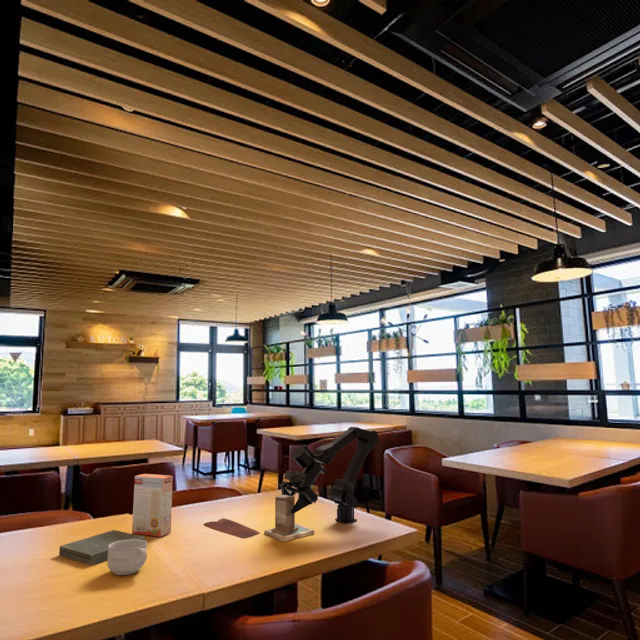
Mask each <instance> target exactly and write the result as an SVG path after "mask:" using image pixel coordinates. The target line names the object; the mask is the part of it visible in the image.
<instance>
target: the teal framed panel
mask: <svg viewBox="0 0 640 640" xmlns="http://www.w3.org/2000/svg"><path fill="white" fill-rule="evenodd" d="M295 527H298V530H297V531H295V532H293V533H290V534H288V535H284V534H279V533H274V532H272V529H273V528H274V527H273V528H269V529H264V530H263V531H264V532H263V533H264V534H265V535H266V536H269V537H271V538H273V539H275V540H277V541H280V542H282V543H283V542H289V541H290V540H294V539H298V538H302V537H307V536H310V535H311V536H312V535H314V534H315V530H314V529H311V528H309V527H307V526H304V525H302V524H298V523H296V522H295Z"/></svg>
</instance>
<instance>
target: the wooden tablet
mask: <svg viewBox="0 0 640 640" xmlns="http://www.w3.org/2000/svg"><path fill="white" fill-rule="evenodd" d="M203 525H204V526H206V527H208V528H210V529H213V530H216V531H219V532H221V533H225V534H227V535H230V536H234V537H237V538H240V539H241V538H242V539H248V538H252V537H255V536H257V535H260V534H261V532H259V531H257V530H256V529H254V528H250V527H249V526H246V525H244V524H242V523H239V522H236V521H234V520H231V519H228V518H220V519H218V520H216V521H207V522H205V523H204V524H203Z"/></svg>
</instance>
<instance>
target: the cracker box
mask: <svg viewBox="0 0 640 640" xmlns="http://www.w3.org/2000/svg"><path fill="white" fill-rule="evenodd" d="M173 480H174V479H173V475H168V474H166V475H165V474H153V473H152V474H151V473H142V474H138V475H134V482H133V483H134V486H133V488H134V489H133V502H132V503H133V507H132V527H131V528H132V529H131V532H132V533H131V534H135V535H142V536H143V535H144V536H151V537H157V538H162V537H163V536H166V535H169V534H171V532H172V510H173V509H172V506H173V505H172V504H173Z"/></svg>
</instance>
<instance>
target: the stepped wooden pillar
mask: <svg viewBox="0 0 640 640" xmlns="http://www.w3.org/2000/svg"><path fill="white" fill-rule="evenodd" d="M295 497H296V495H294V496H288V495H282V494H281V495H278V496H275V500H274V502H275V508H274V511H275V513H274V514H275V516H274V523H275V526H274V527H273V529H272V528H271V529H272V532H274V533H279V534H284V535H288V534H290V533H293V532H295V531H297V530H298V527H295V523H296V520H295V519H296V518H295V517H296V515H295V513H294V514H292V513H291V511H292V509H293V507H294V505H295V503H296V501H295V499H296V498H295Z"/></svg>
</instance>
